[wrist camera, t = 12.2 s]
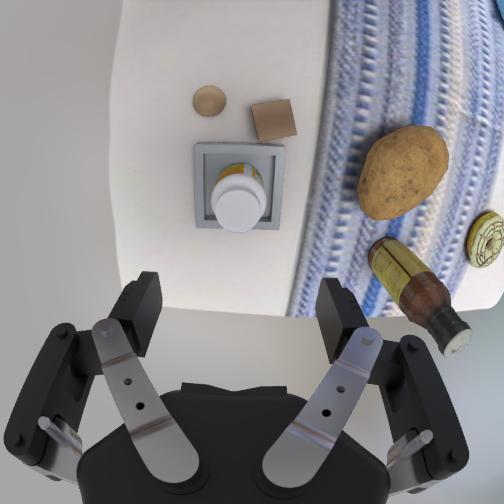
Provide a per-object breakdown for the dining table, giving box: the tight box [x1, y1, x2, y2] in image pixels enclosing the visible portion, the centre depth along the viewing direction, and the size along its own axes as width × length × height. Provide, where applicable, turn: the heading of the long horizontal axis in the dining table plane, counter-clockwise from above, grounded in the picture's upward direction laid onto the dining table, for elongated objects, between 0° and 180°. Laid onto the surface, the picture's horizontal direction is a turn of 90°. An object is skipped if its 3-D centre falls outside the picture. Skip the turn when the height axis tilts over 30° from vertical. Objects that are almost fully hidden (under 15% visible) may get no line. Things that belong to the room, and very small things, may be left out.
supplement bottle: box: [211, 163, 267, 232], centre depth 28 cm, size 5×5×10 cm
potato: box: [357, 125, 449, 220], centre depth 28 cm, size 10×14×8 cm
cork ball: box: [193, 86, 226, 117], centre depth 26 cm, size 4×4×4 cm
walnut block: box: [251, 99, 297, 142], centre depth 27 cm, size 4×4×4 cm
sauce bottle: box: [368, 237, 472, 357], centre depth 29 cm, size 6×6×20 cm
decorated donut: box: [467, 212, 504, 268], centre depth 35 cm, size 10×11×4 cm
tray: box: [194, 143, 286, 230], centre depth 32 cm, size 10×10×2 cm
